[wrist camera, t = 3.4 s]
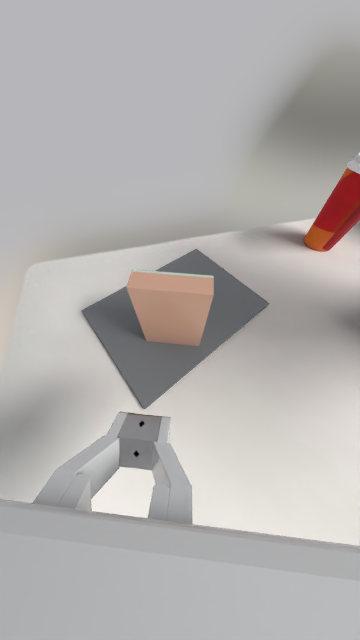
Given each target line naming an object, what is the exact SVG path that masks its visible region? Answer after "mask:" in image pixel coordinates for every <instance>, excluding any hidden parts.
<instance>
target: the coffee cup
mask: <svg viewBox="0 0 360 640" xmlns="http://www.w3.org/2000/svg"><path fill="white" fill-rule="evenodd" d="M359 220H360V153H359V154H358V155H357V156H356V157H354V158H353V160H351V161H349V162H348V163H347V169H346V171H345V172H344V174H343V176H342V177H341V179H340V180H339V182H338V184H337V186H336V187H335V189H334V190H333V192H332V194H331V195H330V197H329V198H328V200H327V202H326V203H325V205H324V207H323V208H322V210H321V212H320V213H319V215H318V217H317V218H316V220H315V221H314V223H313V225H312V226H311V228H310V230H309V231H308V233H307V235H306V237H305V239H304V242H305V244H306V245H307V246H308V247H310V248H311V249H314V250H317V251H328V250H330V249H331V248H332V247H333V246H334V245H335V244H336V243H337V242H338V241H339V240H340V239H341V238H342V237H343V236H344V235H345V234H346V233H347V232H348V231H349V230H350V229H351V228H352V227H353V226H354V225H355V224H356V223H357V222H358V221H359Z"/></svg>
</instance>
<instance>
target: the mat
mask: <svg viewBox="0 0 360 640" xmlns="http://www.w3.org/2000/svg"><path fill="white" fill-rule="evenodd" d="M156 271H160V272H172V273H185V274H197V275H210V276H214V295H213V299H212V302H211V306H210V310H209V313H208V317H207V320H206V324H205V327H204V331H203V334H202V338H201V341H200V345H199V346H191V345H181V344H171V343H160V342H150V341H146V338H145V336H144V333H143V331H142V328H141V325H140V323H139V320H138V317H137V315H136V312H135V309H134V307H133V304H132V301H131V299H130V296H129V293H128V291H127V288H126V287H127V286H126V287H124V288H123V289H121V290H119V291H117V292H115V293H113V294H111V295H110V296H108V297H106V298H104V299H102V300H100V301H98V302H97V303H95V304H93V305H91V306H89V307H87V308H85V309H84V310H82V312H83V313H84V315H85V317H86V318H87V320H88V321H89V323H90V324H91V326H92V328H93V329H94V331H95V332H96V334H97V335H98V337H99V339H100V340H101V342H102V343H103V345H104V347H105V348H106V350H107V351H108V353H109V354H110V356H111V358H112V359H113V361H114V362H115V364H116V365H117V367H118V369H119V370H120V372H121V373H122V375H123V376H124V378H125V380H126V381H127V383H128V384H129V386H130V387H131V389H132V391H133V392H134V394H135V395H136V397H137V398H138V400H139V402H140V403H141V405H142V406H143V408H144V409H146V408H147V407H148V406H149V405H150V404H152V403H153V402H154V401H155V400H156V399H158V398H159V397H160V396H161V395H162V394H163V393H165V392H166V391H167V390H168V389H169V388H170V387H172V386H173V385H174V384H175V383H176V382H178V381H179V380H180V379H181V378H182V377H183V376H185V375H186V374H187V373H188V372H189V371H191V370H192V369H193V368H194V367H195V366H196V365H198V364H199V363H200V362H201V361H202V360H204V359H205V358H206V357H207V356H208V355H209V354H211V353H212V352H213V351H214V350H215V349H217V348H218V347H219V346H220V345H221V344H222V343H224V342H225V341H226V340H227V339H228V338H229V337H231V336H232V335H233V334H234V333H235V332H237V331H238V330H239V329H240V328H241V327H242V326H244V325H245V324H246V323H247V322H248V321H250V320H251V319H252V318H253V317H254V316H255V315H257V314H258V313H259V312H260V311H261V310H263V309H264V308H265V307H266V306H267V305H268V304H269V303H268V302H267V301H265V300H264V299H263V298H261V297H260V296H259V295H257V294H256V293H255V292H253V291H252V290H251V289H249V288H248V287H247V286H245V285H244V284H243V283H241V282H240V281H239V280H237V279H236V278H235V277H233V276H232V275H231V274H229V273H228V272H227V271H225V270H224V269H223V268H221V267H220V266H219V265H217V264H216V263H215V262H213V261H212V260H211V259H209V258H208V257H207V256H205V255H204V254H203V253H201V252H200V251H199V250H197V249H195V250H193V251H191V252H190V253H188V254H186V255H184V256H182V257H180V258H178V259H177V260H175V261H173V262H171V263H169V264H167V265H165V266H163V267H162V268H160V269H158V270H156Z"/></svg>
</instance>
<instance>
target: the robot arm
mask: <svg viewBox="0 0 360 640" xmlns="http://www.w3.org/2000/svg"><path fill="white" fill-rule="evenodd" d="M170 424H171V417H163V416H153V415H143V414H135V413H126V412H119V413H118V415H117V417H116V419H115V421H114V422H113V424H112V426H111V428H110V430H109V432H108V434H107V436H103V437H101V438H100V439H98V440H97V441H96V442H94V443H93V444H91V445H90V446H89V447H87V448H86V449H84V450H83V451H82V452H80V453H79V454H77V455H76V456H75V457H73V458H72V459H70V460H69V461H68V462H66V463H65V464H63V465H62V466H61V467H59V468H58V469H56V471H55V472H54V473H53V475H52V476H51V478H50V479H49V480H48V482H47V483H46V485H45V486H44V488H43V489H42V490H41V492H40V493H39V495H38V496H37V497H36V499H35V500H34V502H33V503H25V502H17V501H9V500H2V499H0V640H360V546H356V545H348V544H341V543H333V542H325V541H318V540H310V539H302V538H294V537H287V536H279V535H271V534H264V533H256V532H248V531H241V530H233V529H225V528H218V527H210V526H202V525H195V524H192V486H191V484H190V482H189V480H188V478H187V476H186V474H185V472H184V470H183V468H182V466H181V464H180V462H179V460H178V458H177V456H176V454H175V452H174V450H173V448H172V446H171V444H169V436H170ZM119 467H131V468H140V469H146V470H152V473H153V476H154V480H155V483H156V485H155V486H154V487H153V493H152V498H151V503H150V509H149V514H148V518H140V517H132V516H125V515H117V514H109V513H102V512H94V511H92V508H91V499H92V498H93V496H94V495H95V494H96V493H97V492H98V491H99V490H100V489H101V488H102V487H103V485H104V484H105V483H106V482H107V481H108V480H109V479H110V478H111V477H112V475H113V474H114V473H115V472H116V471H117V470H118V469H119Z"/></svg>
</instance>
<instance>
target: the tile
mask: <svg viewBox="0 0 360 640" xmlns="http://www.w3.org/2000/svg"><path fill="white" fill-rule="evenodd" d="M126 288H127V291H128V293H129V296H130V299H131V301H132V304H133V307H134V309H135V312H136V315H137V317H138V320H139V323H140V325H141V328H142V331H143V333H144V336H145V338H146V341H150V342H160V343H171V344H181V345H191V346H199V345H200V341H201V338H202V334H203V331H204V327H205V324H206V320H207V317H208V313H209V310H210V306H211V302H212V299H213V295H214V276H210V275H197V274H185V273H172V272H160V271H147V270H135V269H133V270H132V273H131V275H130V278H129V281H128V284H127V287H126Z"/></svg>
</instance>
